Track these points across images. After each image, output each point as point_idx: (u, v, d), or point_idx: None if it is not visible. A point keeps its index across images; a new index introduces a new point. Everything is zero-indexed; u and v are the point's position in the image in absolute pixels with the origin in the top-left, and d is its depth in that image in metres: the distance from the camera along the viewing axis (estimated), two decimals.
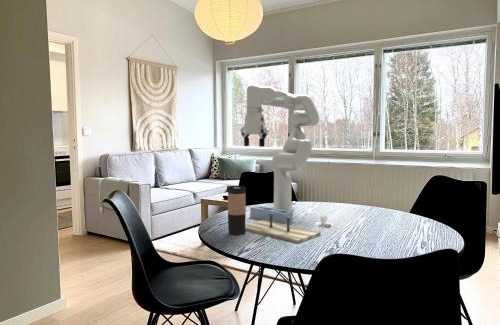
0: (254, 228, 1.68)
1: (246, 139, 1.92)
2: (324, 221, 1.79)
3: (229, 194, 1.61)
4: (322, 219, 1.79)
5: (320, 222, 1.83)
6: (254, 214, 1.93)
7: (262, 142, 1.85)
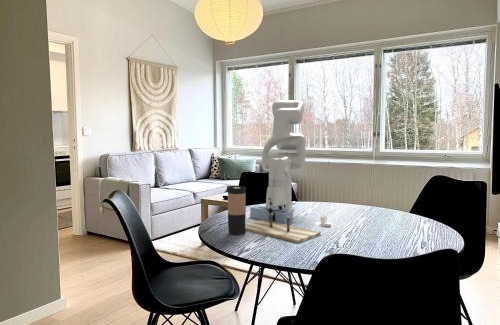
0: (254, 228, 1.68)
1: None
2: (324, 221, 1.79)
3: (229, 194, 1.61)
4: (322, 219, 1.79)
5: (320, 222, 1.83)
6: (254, 214, 1.93)
7: None
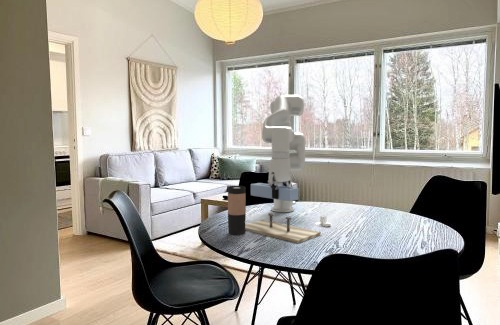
0: (254, 228, 1.68)
1: None
2: (323, 221, 1.79)
3: (229, 194, 1.61)
4: (321, 219, 1.79)
5: (319, 222, 1.83)
6: (255, 192, 1.71)
7: None
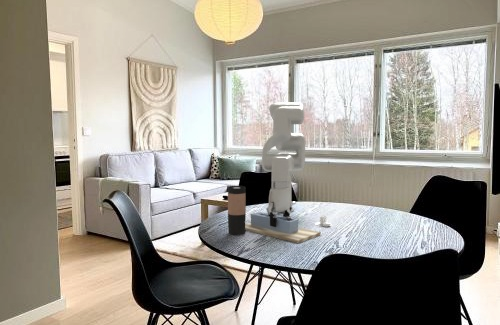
0: (254, 228, 1.68)
1: None
2: (323, 221, 1.79)
3: (229, 194, 1.61)
4: (321, 219, 1.79)
5: (319, 222, 1.83)
6: (255, 222, 1.72)
7: None
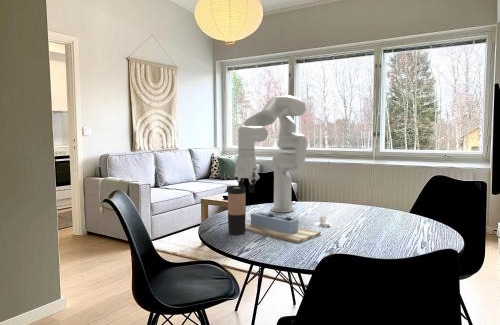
0: (254, 228, 1.68)
1: None
2: (323, 221, 1.78)
3: (229, 194, 1.61)
4: (321, 219, 1.79)
5: (319, 222, 1.83)
6: (255, 222, 1.72)
7: None
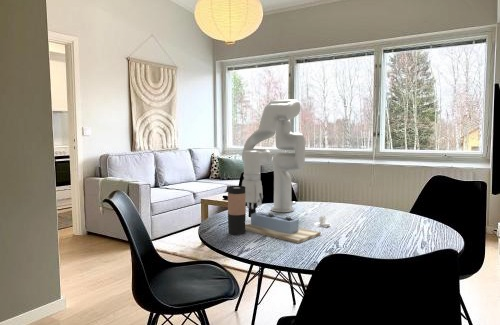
0: (254, 228, 1.68)
1: None
2: (323, 221, 1.78)
3: (229, 194, 1.61)
4: (321, 219, 1.78)
5: (319, 222, 1.83)
6: (255, 222, 1.72)
7: None
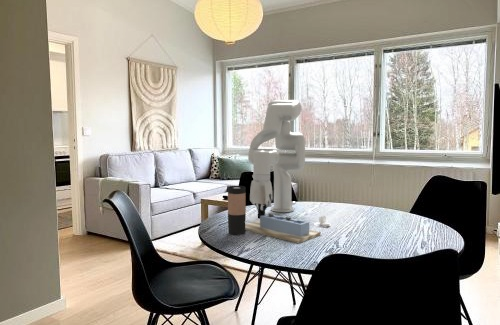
0: (254, 228, 1.68)
1: None
2: (322, 221, 1.78)
3: (229, 194, 1.61)
4: (320, 219, 1.78)
5: (319, 222, 1.83)
6: (265, 224, 1.68)
7: None
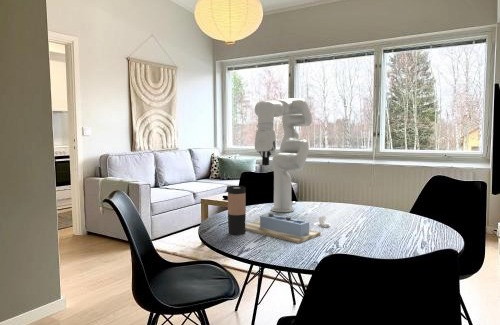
0: (254, 228, 1.68)
1: None
2: (322, 222, 1.78)
3: (229, 194, 1.61)
4: (320, 219, 1.78)
5: None
6: (265, 224, 1.68)
7: None
